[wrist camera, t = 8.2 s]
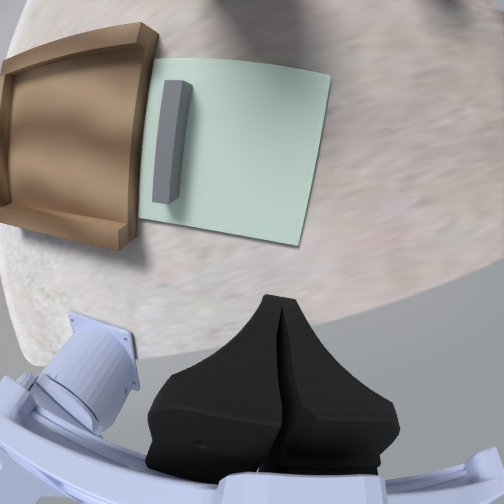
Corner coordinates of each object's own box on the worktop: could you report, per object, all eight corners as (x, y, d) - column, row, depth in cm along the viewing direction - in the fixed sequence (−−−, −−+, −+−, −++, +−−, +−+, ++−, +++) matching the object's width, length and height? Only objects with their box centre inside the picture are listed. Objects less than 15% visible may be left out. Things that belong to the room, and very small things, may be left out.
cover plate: (297, 240, 21) (299, 257, 18) (144, 214, 21) (125, 226, 19) (328, 78, 16) (336, 68, 13) (160, 61, 17) (142, 52, 14)
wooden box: (136, 236, 22) (118, 251, 19) (15, 212, 22) (-3, 221, 19) (158, 33, 15) (141, 21, 12) (22, 62, 16) (2, 60, 13)
